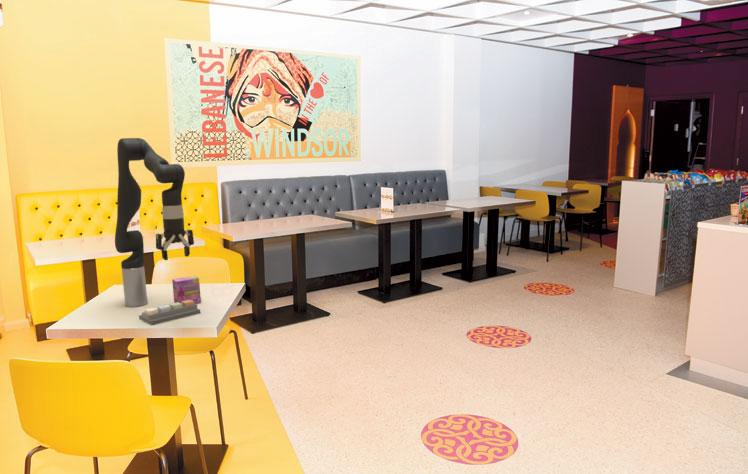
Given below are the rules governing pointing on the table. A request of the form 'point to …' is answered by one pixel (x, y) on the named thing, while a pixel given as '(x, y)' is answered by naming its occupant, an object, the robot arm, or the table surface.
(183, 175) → the robot arm
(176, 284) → the box
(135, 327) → the table surface
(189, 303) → the key terracotta
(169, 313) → the keypad
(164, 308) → the key blue
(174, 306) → the key sage
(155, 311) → the key cream
